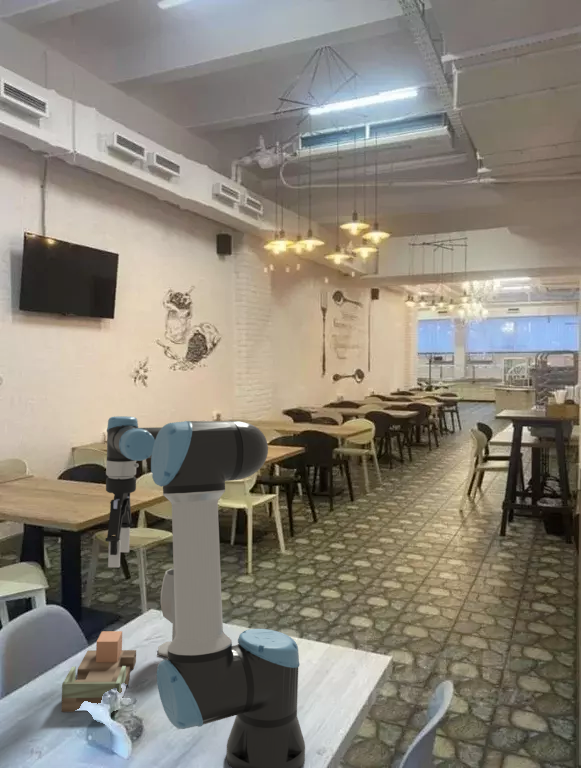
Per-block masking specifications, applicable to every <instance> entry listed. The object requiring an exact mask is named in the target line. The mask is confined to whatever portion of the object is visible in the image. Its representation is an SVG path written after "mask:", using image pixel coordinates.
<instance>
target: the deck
mask: <svg viewBox="0 0 581 768" xmlns="http://www.w3.org/2000/svg"><path fill="white" fill-rule="evenodd" d="M136 663H137V650H136V649H122V652H121V654H120V657H119V659H118V661H117V662H96V649H95V650H91V649H90V650H87V651H86V653H85V654H84V657H82V660H81V662H80V664H79V666H78V668H76V666H71V668H70V669H69V671H68V673H67V675H66V676H65V678H64V680H63V682H62V683H61V684H62V685H61V712H62V713H71V712H72V713H73V712H74V711H75V710H77V709H79V708H80V706H81V704H82V703H83V702H84V701H88V702H91V703H97V704H98V703H101V700H102V696H103V694H104V693H105V692H107V691H109V690H111V689H113V688H117V691H118V692H119V693H121V692H122V688H121V684H122V683H125V684H127V685H129V682H130V680H131V678H130V677H131V670H134V668H135V666H136ZM76 670H77V672H76ZM76 673H77V674H76ZM76 676H77V677H76ZM74 713H75V712H74Z"/></svg>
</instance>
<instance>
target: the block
mask: <svg viewBox="0 0 581 768" xmlns="http://www.w3.org/2000/svg"><path fill="white" fill-rule="evenodd" d="M95 644H96V645H95V646H96V649H95V650H96V662H117V661H118V659H119V657H120V654H121V652H122V650H123V631H122V630H121V631H118V630H117V631H115V630H113V631H108V630H106V631H104V630H103V631H102V630H101V632H100V634H99V635H98V638H97V640H96V643H95Z"/></svg>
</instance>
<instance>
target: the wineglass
mask: <svg viewBox="0 0 581 768" xmlns="http://www.w3.org/2000/svg"><path fill="white" fill-rule="evenodd" d="M160 607H161V612H162V616H163V617H164V619H166V621H169V622H170V623H171V624H172V631H171V633H172V634H171V637H172V638H171V639H172V640H171V641H165V642H164V643H162V644H161V645H159V646H158V648H157V649H158V655H159V656H163V657H167V658H168V645H169V644H170V643H171V642H172V641H173V640H174V638H175V636H176V626H175V594H174V568H170V569H168V570H165V572H164V576H163V578H162V583H161V590H160Z"/></svg>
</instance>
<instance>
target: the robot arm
mask: <svg viewBox="0 0 581 768" xmlns="http://www.w3.org/2000/svg"><path fill="white" fill-rule="evenodd" d="M138 422H139V421H138V419H137V418H136V417H134V416H128V415H127V416H119V415H117V416H111V417H109V419H108V421H107V429H106V433H107V435H106V437H107V438H106V465H105V466H106V467H105V469H106V471H105V475H106V476H107V477H106V479H105V491H106V492H107V493H108V494H113V499H111V500H110V503H109V505H110V506H109V507H110V510H109V518H108V519H109V520H108V528H107V536H106V537H105V543H106V542H108V554H107V555H108V561H107V562H108V563H107V567H108V568H120V566H121V553H130V541H131V540H130V538H131V535H130V534H131V528H132V527H133V526H134V523H133V522H132V520H133V519H132V509H131V508H132V507H131V493H134V492H136V490H137V477H136V475H137V468H139V466H140V465H139V463H137V462H138V461H139V462H140V461H141V462H142V461H145V460H147V459H150V472H151V474H152V475H151V477H152V479H153V480H152V482H154V484H155V485H157V486H159V487H162V495H163V496H164V498H166V499H167V500H168V501H169V502H170V504H171V519H172V520H171V521H172V522H171V523H172V525H171V526H172V528H171V529H172V555H173V557H172V558H173V561H172V563H173V569H174V594H175V626H176V636H175V638H174V640H173V641H172V640H171V641H172V642H171V641H170V642H171V643H170V644H169V645H168V657H167V659H163V660H161V661H160V662H159V663H158V665H157V670H156V683H157V689H158V694H159V699H160V702H161V705H162V708H163V710H164V713H165V715H166V717H167V718H168V721H169V722H170V723H171V725H172V726H174V727H175V728H177V729H179V730H185V729H190V728H195V727H197V728H199V727H203V726H204V725H207V724H210V723H213V722H214V723H215V722H218V721H220V720H225V719H227V718H232V717H234V716H235V718H234V722H233V724H232V726H231V730H230V733H229V736H228V739H227V742H226V758H225V759H226V761H227V763H228V766H229V767H230V766H231V767H232V768H301V767H302V766H303V765H304V764H305V763H304V762H305V759H306V758H305V757H306V744H305V743H306V742H305V740H304V735H303V731H302V729H301V728H302V727H301V726H300V725H301V724H300V722H299V719H298V696H299V695H298V693H299V691H298V690H299V667H300V657H299V655H300V654H299V646H298V644H297V643H296V641H295V640H294V639H293V638H292V637H291V636H289V635H288V634H286V633H283V632H281V631H277V630H273V629H268V628H250V629H245V630H243V631H242V632H241V633H240V634H238V635H239V636H238V638H237V644H235V645H233V642H232V638H230V637H229V635H227V634H226V633H225V632H224V624H223V599H222V598H223V597H222V577H221V574H222V573H221V554H220V553H221V552H220V547H221V546H220V527H219V526H220V524H219V506H218V505H219V503H218V502H219V500H220V498H221V497H222V496H223V495H224V493H225V492H226V481H227V482H230V481H238V480H243V479H246V478H248V477H251V476H252V475H254V474H256V473H257V472H259V470H260V469H262V467H263V465H264V464H265V462H266V461H267V458H268V454H269V444H268V441H267V438H266V436H265V435H264V433H263V432H262V431H261V430H260V428H258V427H257V426H255V425H253V424H251V423H248V422H244V421H240V420H229V421H225V420H224V421H222V420H221V421H218V420H217V421H216V420H215V421H213V420H211V421H209V420H200V421H199V420H198V421H197V420H191V421H190V420H185V421H175V422H169V423H167V424H166V423H165V424H164V425H163V426H161V427H157V426H156V427H139V423H138ZM231 767H230V768H231Z"/></svg>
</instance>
